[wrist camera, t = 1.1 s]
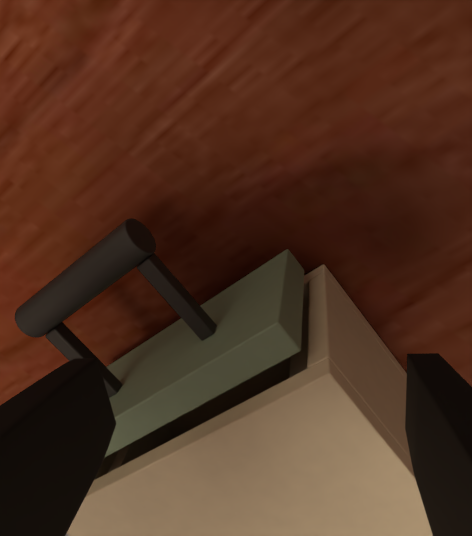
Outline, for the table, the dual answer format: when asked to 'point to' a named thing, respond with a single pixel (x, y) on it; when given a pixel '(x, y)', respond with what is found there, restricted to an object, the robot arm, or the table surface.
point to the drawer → (179, 339)
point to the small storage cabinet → (282, 451)
